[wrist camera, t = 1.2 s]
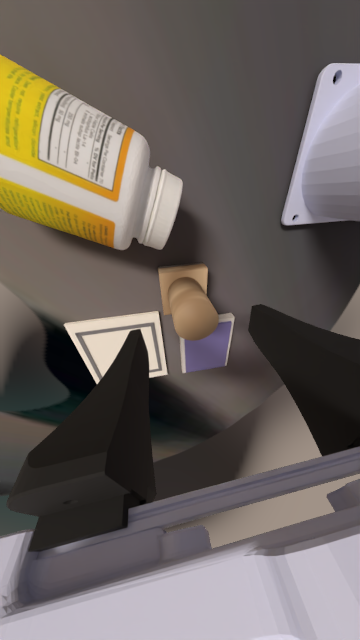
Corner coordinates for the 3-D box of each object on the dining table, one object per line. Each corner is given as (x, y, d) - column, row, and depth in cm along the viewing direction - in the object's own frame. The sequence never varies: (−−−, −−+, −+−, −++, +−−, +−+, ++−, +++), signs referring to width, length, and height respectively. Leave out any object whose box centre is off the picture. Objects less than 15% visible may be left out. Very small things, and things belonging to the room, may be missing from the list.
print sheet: (158, 310, 18) (158, 313, 17) (167, 372, 24) (167, 374, 23) (65, 323, 17) (63, 325, 16) (98, 384, 23) (98, 386, 22)
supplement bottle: (-1, 189, 11) (155, 247, 14) (-94, 201, 7) (157, 278, 10) (-27, 45, 8) (181, 163, 11) (-232, -98, 4) (200, 160, 7)
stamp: (202, 262, 16) (229, 293, 11) (201, 300, 18) (223, 341, 13) (157, 266, 15) (164, 301, 10) (162, 305, 18) (169, 349, 13)
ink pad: (231, 312, 19) (235, 318, 19) (224, 360, 24) (227, 367, 23) (178, 320, 19) (180, 326, 18) (181, 367, 24) (183, 375, 23)
